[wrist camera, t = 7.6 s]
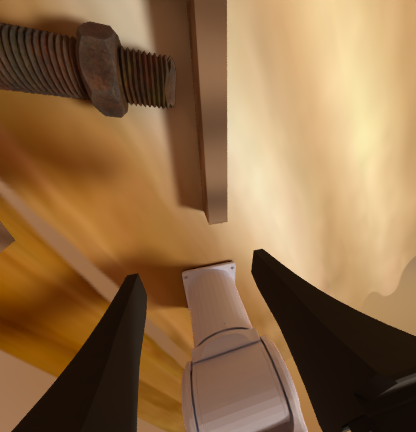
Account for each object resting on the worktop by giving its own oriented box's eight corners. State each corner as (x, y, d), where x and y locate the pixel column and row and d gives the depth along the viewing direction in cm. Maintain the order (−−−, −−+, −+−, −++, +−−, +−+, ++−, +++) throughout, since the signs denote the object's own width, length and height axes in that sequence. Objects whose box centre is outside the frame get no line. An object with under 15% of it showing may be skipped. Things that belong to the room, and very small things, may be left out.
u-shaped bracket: (220, 209, 21) (227, 221, 18) (-8, 243, 18) (-37, 265, 15) (212, -69, 11) (226, -126, 8) (-333, -119, 7) (-596, -243, 5)
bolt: (171, 101, 16) (-37, 73, 13) (173, 25, 12) (-139, -52, 8) (175, 140, 14) (-94, 118, 10) (179, 57, 9) (-292, -36, 6)
